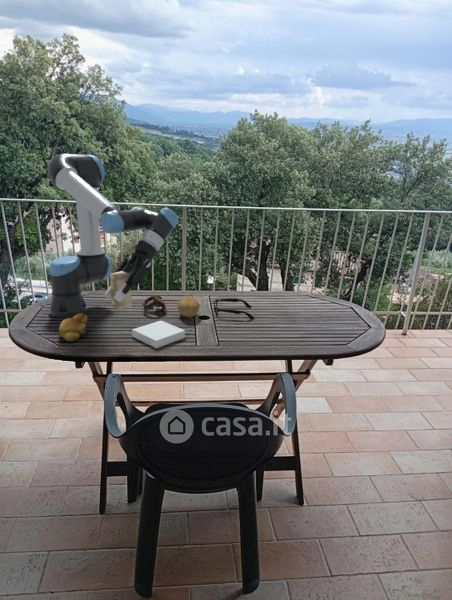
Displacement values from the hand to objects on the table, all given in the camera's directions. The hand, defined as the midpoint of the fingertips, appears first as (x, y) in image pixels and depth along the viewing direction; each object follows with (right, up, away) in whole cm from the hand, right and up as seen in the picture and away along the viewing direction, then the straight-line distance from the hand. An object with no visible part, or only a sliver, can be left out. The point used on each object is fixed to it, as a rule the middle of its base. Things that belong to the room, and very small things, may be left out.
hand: (112, 298), depth 147 cm
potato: (+23, -8, +37) cm, 44 cm away
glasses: (+43, -7, +44) cm, 62 cm away
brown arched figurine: (+8, -6, +41) cm, 42 cm away
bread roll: (-18, -15, +11) cm, 26 cm away
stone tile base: (+14, -15, +14) cm, 25 cm away
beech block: (+2, -3, +4) cm, 5 cm away
